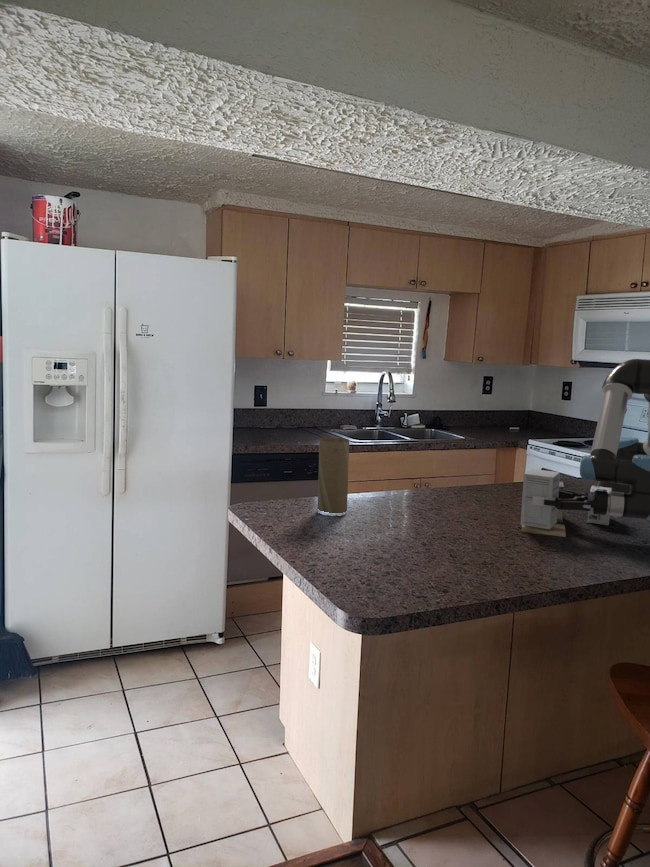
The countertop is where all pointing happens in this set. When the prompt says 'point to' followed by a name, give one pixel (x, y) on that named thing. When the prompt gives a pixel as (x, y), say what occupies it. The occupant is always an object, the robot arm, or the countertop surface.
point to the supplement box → (540, 486)
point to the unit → (559, 512)
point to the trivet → (546, 530)
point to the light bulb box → (592, 517)
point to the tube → (333, 474)
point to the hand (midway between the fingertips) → (532, 496)
